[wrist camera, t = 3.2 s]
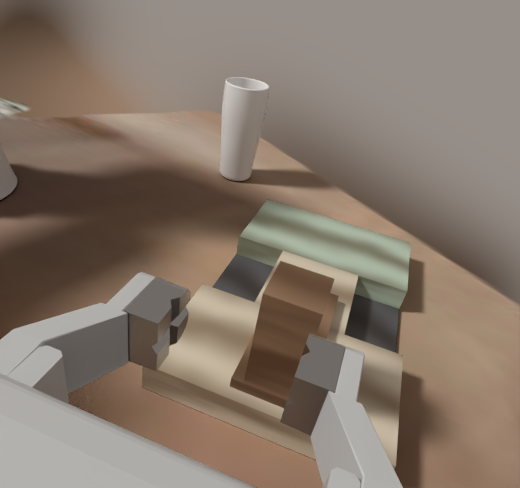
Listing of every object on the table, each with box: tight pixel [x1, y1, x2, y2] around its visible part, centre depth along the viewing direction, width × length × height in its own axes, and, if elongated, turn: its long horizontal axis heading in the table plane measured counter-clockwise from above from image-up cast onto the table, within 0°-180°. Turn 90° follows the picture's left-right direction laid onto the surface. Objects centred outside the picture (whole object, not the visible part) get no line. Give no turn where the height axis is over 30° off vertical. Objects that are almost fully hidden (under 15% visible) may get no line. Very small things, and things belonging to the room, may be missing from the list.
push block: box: [230, 261, 339, 408], centre depth 35 cm, size 14×6×10 cm, turn 161°
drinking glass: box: [219, 77, 269, 181], centre depth 67 cm, size 7×7×15 cm
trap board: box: [142, 199, 410, 469], centre depth 45 cm, size 32×20×3 cm, turn 161°
